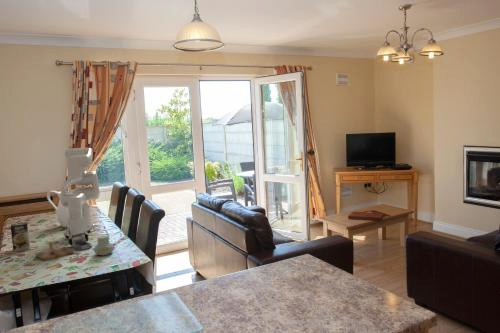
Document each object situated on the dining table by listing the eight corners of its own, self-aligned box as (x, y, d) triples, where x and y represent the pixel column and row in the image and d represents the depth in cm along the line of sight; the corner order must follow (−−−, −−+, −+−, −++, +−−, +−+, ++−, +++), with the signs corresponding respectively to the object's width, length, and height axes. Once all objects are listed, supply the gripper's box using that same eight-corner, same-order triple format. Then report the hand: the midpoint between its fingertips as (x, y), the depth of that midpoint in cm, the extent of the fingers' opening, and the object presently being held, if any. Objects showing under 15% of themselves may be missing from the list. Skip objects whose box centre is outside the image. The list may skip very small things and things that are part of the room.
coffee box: (13, 252, 237) (9, 226, 235) (13, 249, 243) (10, 224, 241) (30, 249, 241) (27, 223, 239) (30, 246, 247) (27, 221, 245)
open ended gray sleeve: (91, 247, 236) (90, 239, 236) (80, 250, 232) (79, 242, 231) (82, 243, 246) (81, 235, 246) (71, 246, 242) (71, 238, 241)
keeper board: (64, 248, 237) (63, 235, 236) (73, 253, 227) (71, 239, 226) (36, 256, 226) (34, 241, 226) (43, 261, 216) (41, 246, 215)
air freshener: (93, 257, 218) (91, 240, 217) (95, 252, 226) (93, 236, 225) (114, 254, 221) (112, 237, 220) (114, 250, 229) (113, 233, 228)
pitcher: (86, 222, 304) (82, 187, 301) (74, 228, 287) (70, 191, 284) (57, 223, 306) (53, 188, 303) (44, 229, 289) (40, 192, 286)
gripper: (87, 212, 248) (90, 238, 250) (59, 217, 236) (62, 245, 238) (92, 213, 243) (95, 240, 245) (63, 219, 231) (66, 247, 233)
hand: (78, 242), depth 241 cm, fingers open, 9 cm apart
